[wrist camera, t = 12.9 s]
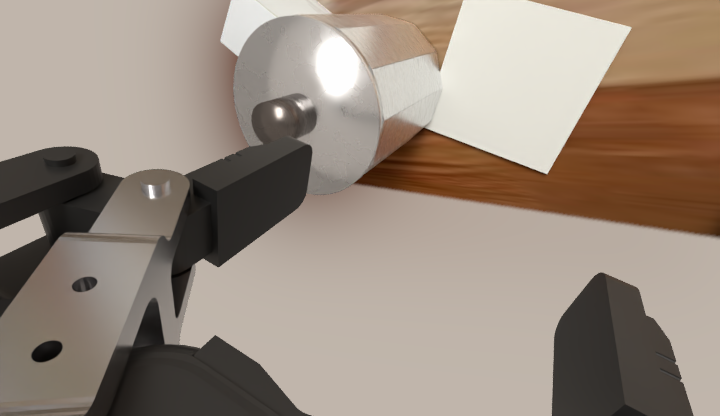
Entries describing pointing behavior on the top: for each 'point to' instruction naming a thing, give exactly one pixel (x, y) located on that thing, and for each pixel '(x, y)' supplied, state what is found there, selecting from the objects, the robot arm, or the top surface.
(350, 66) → the cover
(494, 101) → the mat
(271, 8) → the supplement box
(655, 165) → the top surface
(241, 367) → the robot arm
